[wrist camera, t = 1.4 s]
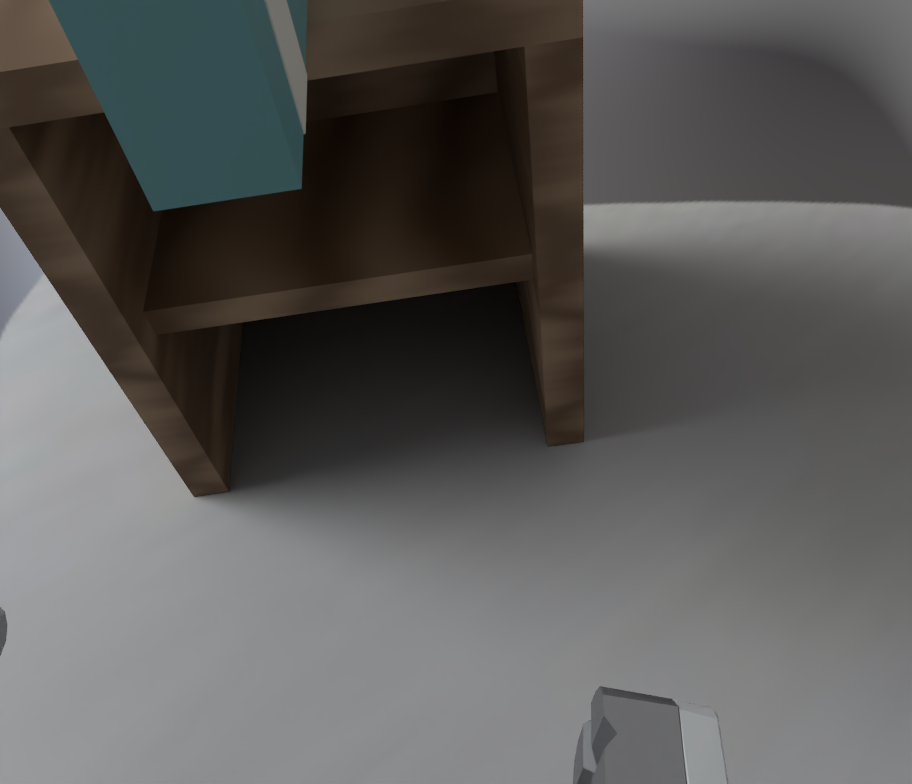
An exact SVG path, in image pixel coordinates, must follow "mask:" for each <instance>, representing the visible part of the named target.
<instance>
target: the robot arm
mask: <svg viewBox="0 0 912 784" xmlns="http://www.w3.org/2000/svg"><path fill="white" fill-rule="evenodd" d="M6 635H7V620H6V615H5V612H4V611H3V610H2V609H1V608H0V655H1V653H2V650H3V647H4V645H5V642H6ZM573 784H728V778H727V772H726V765H725V759H724V753H723V746H722V740H721V733H720V727H719V720H718V715H717V714H716V712H715V710H714V708H711V707H707V706H701V705H696V704H691V703H685V702H680V701H673V700H672V699H669V698H664V697H658V696H652V695H647V694H641V693H635V692H630V691H624V690H618V689H613V688H607V687H602V686H600V687H599V688H598V689H597V690H596V692H595V694H594V697H593V699H592V702H591V720H590V721H588V722H586V723H584V724H583V727H582V730H581V733H580V736H579V739H578V744H577V749H576V755H575V760H574V773H573Z"/></svg>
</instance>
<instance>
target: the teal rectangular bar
mask: <svg viewBox="0 0 912 784" xmlns="http://www.w3.org/2000/svg"><path fill="white" fill-rule="evenodd" d="M49 2H50V4H51V6H52V8H53V10H54V12H55V14H56V16H57V18H58V20H59V22H60V24H61V26H62V28H63V30H64V32H65V34H66V36H67V38H68V40H69V42H70V44H71V46H72V48H73V50H74V53H75V55H76V57H77V59H78V61H79V63H80V65H81V67H82V69H83V71H84V73H85V75H86V77H87V79H88V81H89V83H90V85H91V87H92V89H93V91H94V93H95V95H96V97H97V99H98V101H99V103H100V105H101V107H102V109H103V111H104V113H105V115H106V117H107V119H108V121H109V123H110V125H111V127H112V129H113V131H114V133H115V135H116V137H117V139H118V141H119V143H120V145H121V147H122V149H123V151H124V153H125V155H126V157H127V159H128V161H129V163H130V165H131V167H132V169H133V171H134V173H135V175H136V177H137V179H138V181H139V183H140V185H141V188H142V190H143V192H144V194H145V196H146V198H147V200H148V202H149V204H150V206H151V208H152V210H153V211H159V210H166V209H172V208H179V207H185V206H192V205H199V204H205V203H212V202H218V201H225V200H231V199H238V198H244V197H251V196H258V195H264V194H271V193H277V192H284V191H290V190H297V189H302V163H303V134H306V104H307V72H306V69H305V67H306V34H307V2H308V0H49Z"/></svg>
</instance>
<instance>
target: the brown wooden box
mask: <svg viewBox="0 0 912 784" xmlns="http://www.w3.org/2000/svg"><path fill="white" fill-rule="evenodd" d="M305 69H306V72H307V104H306V134H303V163H302V189H297V190H290V191H284V192H277V193H271V194H264V195H258V196H251V197H244V198H238V199H231V200H225V201H218V202H212V203H205V204H199V205H192V206H185V207H179V208H172V209H166V210H159V211H153V210H152V208H151V206H150V204H149V202H148V200H147V198H146V196H145V194H144V192H143V190H142V188H141V185H140V183H139V181H138V179H137V177H136V175H135V173H134V171H133V169H132V167H131V165H130V163H129V161H128V159H127V157H126V155H125V153H124V151H123V149H122V147H121V145H120V143H119V141H118V139H117V137H116V135H115V133H114V131H113V129H112V127H111V125H110V123H109V121H108V119H107V117H106V115H105V113H104V111H103V109H102V107H101V105H100V103H99V101H98V99H97V97H96V95H95V93H94V91H93V89H92V87H91V85H90V83H89V81H88V79H87V77H86V75H85V73H84V71H83V69H82V67H81V65H80V63H79V61H78V59H77V57H76V55H75V53H74V50H73V48H72V46H71V44H70V42H69V40H68V38H67V36H66V34H65V32H64V30H63V28H62V26H61V24H60V22H59V20H58V18H57V16H56V14H55V12H54V10H53V8H52V6H51V4H50V2H49V0H0V208H1V209H2V211H3V212H4V214H5V215H6V217H7V218H8V220H9V221H10V222H11V224H12V226H13V227H14V229H15V230H16V232H17V233H18V235H19V236H20V238H21V239H22V241H23V242H24V244H25V245H26V246H27V248H28V250H29V251H30V253H31V254H32V256H33V257H34V259H35V260H36V261H37V263H38V264H39V266H40V267H41V269H42V270H43V272H44V273H45V275H46V276H47V278H48V279H49V281H50V282H51V284H52V285H53V287H54V288H55V290H56V291H57V293H58V294H59V296H60V297H61V299H62V300H63V302H64V303H65V305H66V306H67V308H68V309H69V311H70V312H71V314H72V315H73V317H74V318H75V320H76V321H77V323H78V324H79V326H80V327H81V329H82V330H83V332H84V333H85V335H86V336H87V338H88V339H89V341H90V342H91V344H92V345H93V347H94V348H95V350H96V351H97V353H98V354H99V356H100V357H101V359H102V360H103V362H104V363H105V365H106V366H107V368H108V369H109V371H110V372H111V374H112V375H113V377H114V378H115V380H116V381H117V383H118V384H119V386H120V387H121V389H122V390H123V392H124V393H125V395H126V396H127V397H128V399H129V400H130V402H131V403H132V405H133V406H134V408H135V409H136V411H137V412H138V414H139V415H140V417H141V418H142V420H143V421H144V423H145V424H146V426H147V427H148V429H149V430H150V432H151V433H152V435H153V436H154V438H155V439H156V441H157V442H158V444H159V445H160V447H161V448H162V450H163V451H164V453H165V454H166V456H167V457H168V459H169V460H170V462H171V463H172V465H173V466H174V468H175V469H176V471H177V472H178V474H179V475H180V477H181V478H182V480H183V481H184V483H185V484H186V486H187V487H188V489H189V490H190V492H191V493H192V495H193V496H194V497H195V496H202V495H209V494H216V493H223V492H229V483H230V471H231V460H232V448H233V436H234V424H235V412H236V400H237V389H238V377H239V365H240V353H241V341H242V329H243V322H248V321H255V320H262V319H268V318H275V317H282V316H289V315H295V314H302V313H309V312H316V311H323V310H329V309H336V308H343V307H350V306H356V305H363V304H370V303H377V302H383V301H390V300H397V299H404V298H410V297H417V296H424V295H431V294H438V293H444V292H451V291H458V290H465V289H471V288H478V287H485V286H492V285H498V284H505V283H512V282H516V283H517V288H518V293H519V298H520V304H521V309H522V314H523V319H524V325H525V330H526V335H527V340H528V346H529V351H530V356H531V361H532V366H533V372H534V377H535V382H536V387H537V393H538V398H539V403H540V408H541V414H542V419H543V424H544V429H545V434H546V440H547V445H548V447H549V446H556V445H563V444H570V443H577V442H584V302H583V0H308V2H307V34H306V67H305Z"/></svg>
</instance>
